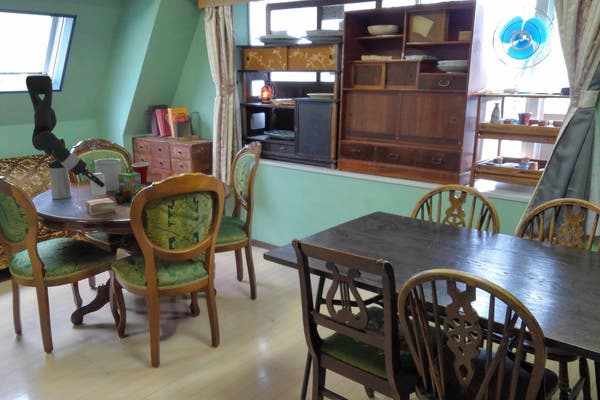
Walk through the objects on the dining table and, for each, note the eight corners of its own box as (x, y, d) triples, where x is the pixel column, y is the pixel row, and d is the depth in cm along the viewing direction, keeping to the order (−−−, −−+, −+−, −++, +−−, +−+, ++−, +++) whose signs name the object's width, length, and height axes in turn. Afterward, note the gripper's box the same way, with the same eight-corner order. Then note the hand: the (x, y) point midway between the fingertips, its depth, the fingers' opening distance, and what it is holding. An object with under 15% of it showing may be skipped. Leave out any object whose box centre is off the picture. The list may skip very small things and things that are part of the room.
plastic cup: (129, 183, 317) (127, 164, 314) (139, 180, 327) (137, 162, 324) (143, 184, 314) (142, 165, 311) (153, 181, 324) (152, 162, 321)
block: (86, 210, 252) (85, 200, 250) (109, 207, 258) (108, 197, 256) (91, 215, 243) (90, 205, 242) (115, 211, 249) (114, 201, 248)
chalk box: (118, 194, 288) (116, 168, 284) (129, 190, 296) (127, 166, 292) (131, 195, 284) (129, 169, 281) (142, 192, 293) (140, 167, 289)
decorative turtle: (122, 205, 261) (120, 190, 259) (109, 203, 271) (106, 188, 269) (139, 201, 268) (137, 186, 266) (125, 199, 278) (123, 184, 276)
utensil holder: (128, 188, 303) (125, 159, 299) (107, 192, 291) (104, 162, 287) (112, 185, 311) (110, 157, 307) (91, 189, 299) (88, 160, 295)
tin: (91, 193, 249) (89, 173, 246) (103, 192, 252) (101, 172, 249) (94, 195, 244) (92, 175, 242) (106, 194, 247) (104, 173, 245)
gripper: (82, 159, 234) (110, 181, 243) (75, 155, 245) (103, 177, 255) (71, 171, 232) (100, 193, 241) (65, 167, 243) (93, 188, 253)
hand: (101, 185), depth 248 cm, fingers closed on tin, 5 cm apart
